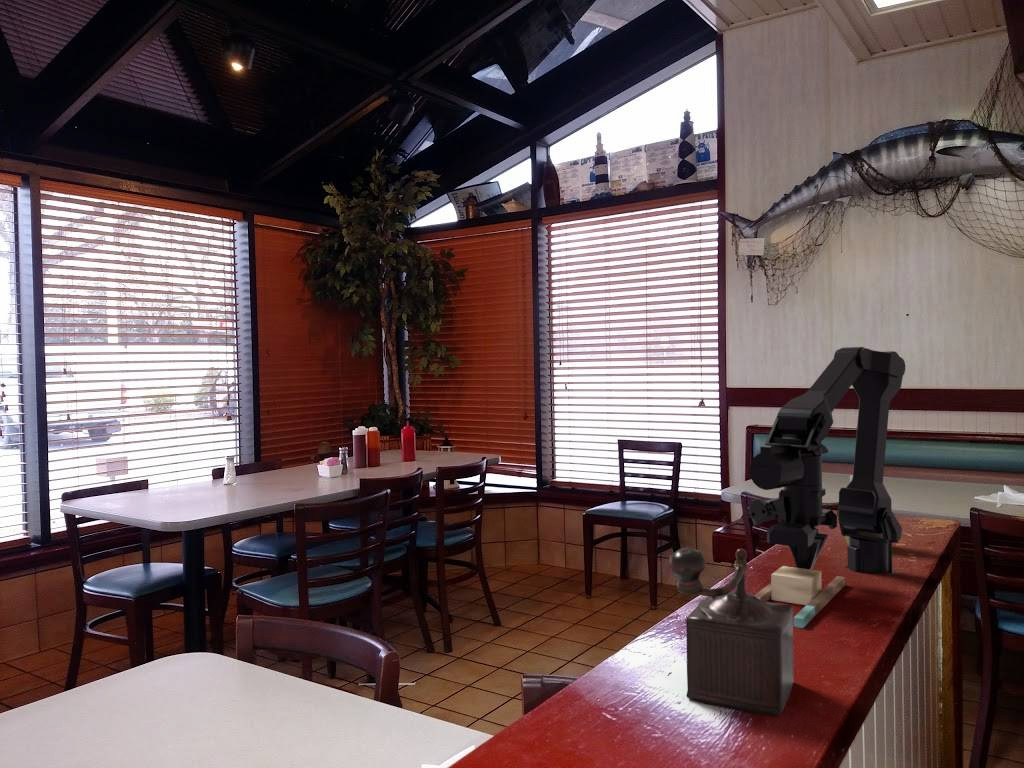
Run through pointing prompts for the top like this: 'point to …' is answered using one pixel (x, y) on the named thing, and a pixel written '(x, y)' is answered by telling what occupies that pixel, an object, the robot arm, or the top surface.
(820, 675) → the top surface
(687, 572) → the dark manual coffee grinder
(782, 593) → the block
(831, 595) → the chute
